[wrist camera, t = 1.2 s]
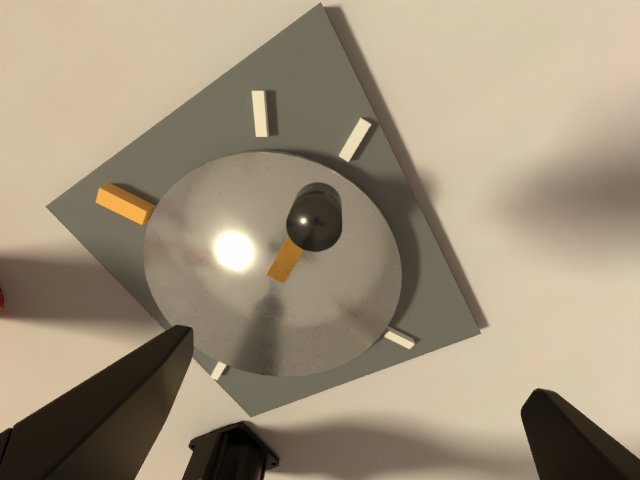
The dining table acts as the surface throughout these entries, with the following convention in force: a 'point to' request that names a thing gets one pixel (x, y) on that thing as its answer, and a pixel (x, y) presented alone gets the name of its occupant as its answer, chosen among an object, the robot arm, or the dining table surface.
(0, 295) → the paper cup
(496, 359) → the dining table surface
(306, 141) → the grey dial base plate
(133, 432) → the robot arm
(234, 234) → the dial
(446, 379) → the dining table surface
